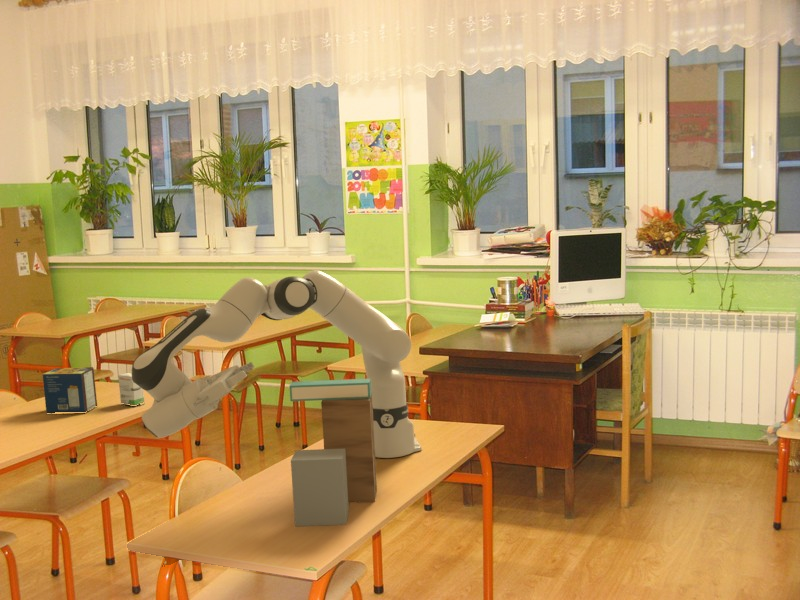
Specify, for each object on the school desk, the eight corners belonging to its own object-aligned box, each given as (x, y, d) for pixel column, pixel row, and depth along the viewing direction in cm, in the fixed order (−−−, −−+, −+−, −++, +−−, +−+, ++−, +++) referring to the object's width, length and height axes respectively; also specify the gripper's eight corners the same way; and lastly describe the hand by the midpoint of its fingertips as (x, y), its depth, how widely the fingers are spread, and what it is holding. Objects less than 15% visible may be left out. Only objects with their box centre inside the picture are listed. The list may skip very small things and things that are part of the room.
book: (293, 397, 226) (292, 381, 226) (371, 394, 226) (370, 378, 225) (290, 401, 222) (289, 385, 221) (370, 398, 221) (369, 382, 221)
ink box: (145, 404, 337) (142, 374, 335) (134, 407, 333) (131, 376, 331) (131, 402, 342) (128, 372, 341) (120, 404, 338) (117, 374, 337)
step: (299, 513, 217) (295, 450, 215) (348, 512, 216) (345, 448, 214) (295, 526, 209) (290, 460, 207) (345, 524, 208) (342, 458, 206)
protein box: (59, 407, 338) (55, 367, 336) (97, 406, 337) (94, 366, 335) (45, 415, 328) (41, 373, 326) (85, 414, 326) (81, 372, 324)
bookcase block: (331, 490, 232) (325, 393, 228) (377, 489, 231) (371, 391, 228) (327, 503, 223) (321, 402, 220) (374, 501, 222) (369, 400, 219)
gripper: (184, 396, 211) (233, 367, 209) (205, 376, 231) (250, 350, 230) (198, 418, 211) (247, 389, 210) (218, 397, 232) (263, 370, 230)
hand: (249, 368), depth 220 cm, fingers open, 8 cm apart
